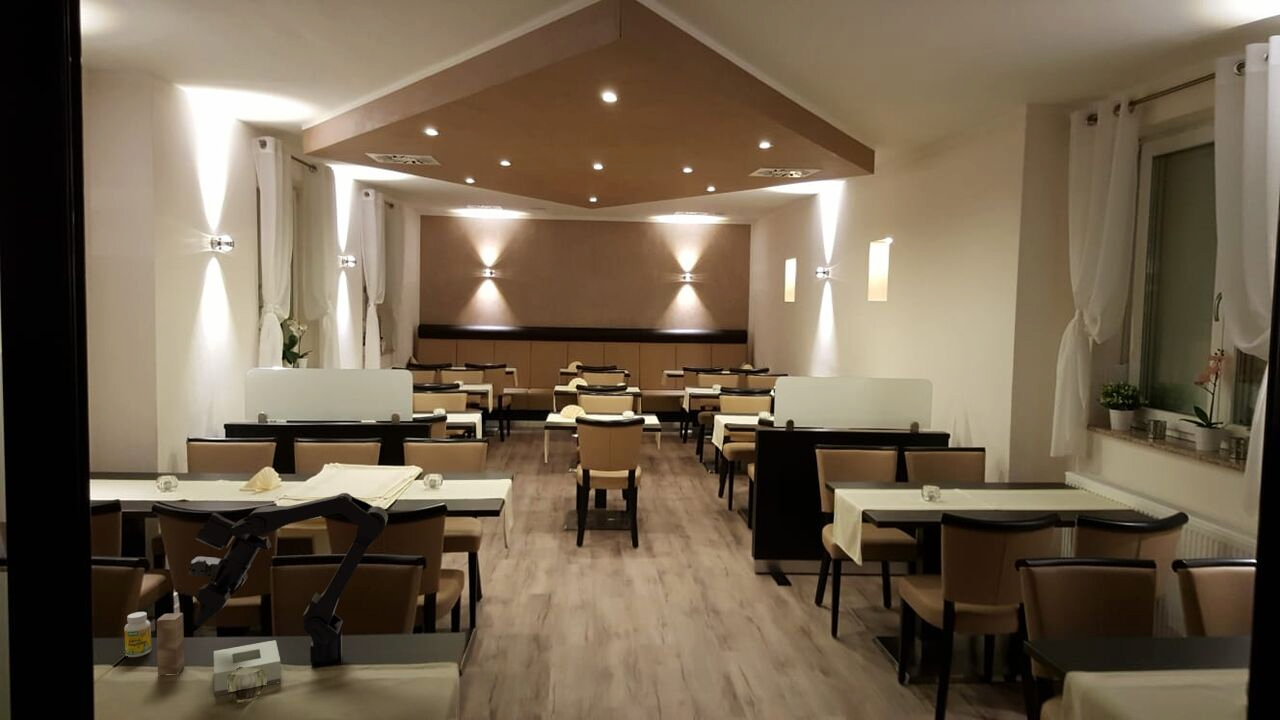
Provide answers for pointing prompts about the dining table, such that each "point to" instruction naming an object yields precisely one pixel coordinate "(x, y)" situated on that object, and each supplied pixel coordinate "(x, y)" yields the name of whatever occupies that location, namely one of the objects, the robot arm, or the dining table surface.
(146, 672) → the dining table surface
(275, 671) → the socket block
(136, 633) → the supplement bottle
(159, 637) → the walnut peg
